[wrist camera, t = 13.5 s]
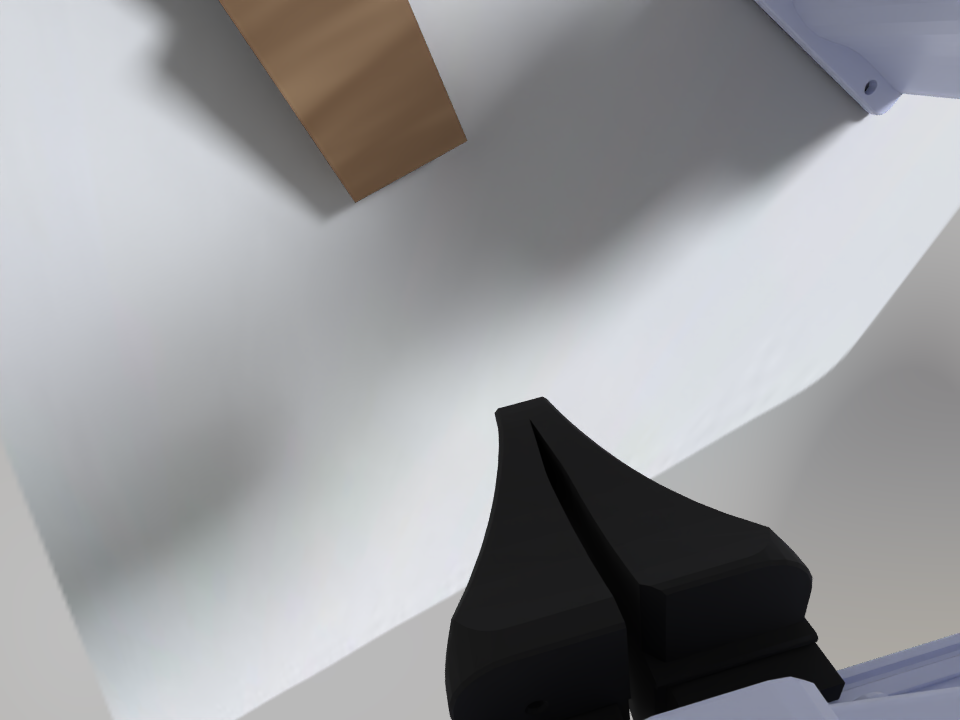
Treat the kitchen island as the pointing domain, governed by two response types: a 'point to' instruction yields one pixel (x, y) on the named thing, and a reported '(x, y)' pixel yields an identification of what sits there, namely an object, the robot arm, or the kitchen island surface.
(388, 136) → the domino
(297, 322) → the kitchen island surface
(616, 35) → the kitchen island surface
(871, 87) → the robot arm
